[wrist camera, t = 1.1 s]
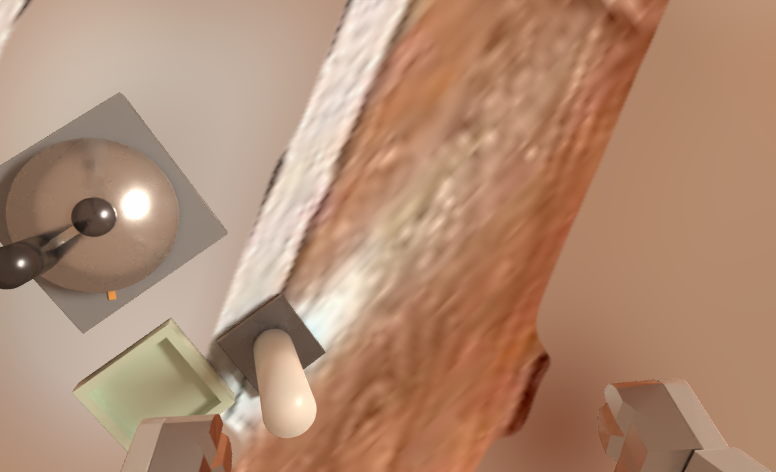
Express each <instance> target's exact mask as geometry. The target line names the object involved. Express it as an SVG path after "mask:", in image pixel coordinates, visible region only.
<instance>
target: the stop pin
mask: <svg viewBox="0 0 776 472" xmlns="http://www.w3.org/2000/svg"><path fill="white" fill-rule="evenodd" d="M253 353H254V360H255V367H256V374H257V381H258V388H259V395H260V402H261V409H262V417H263V422H264V424H265V426H266V428H267V429H268V431H269V432H271V433H272V434H273V435H275V436H278V437H281V438H292V437H296V436H298V435H301V434H302V433H304V432H305V431H306V430H307V429H308V428H309V427H310V426H311V425H312V423H313V421H314V419H315V416H316V403H315V400H314V397H313V395H312V392H311V390H310V387H309V384H308V382H307V379H306V376H305V374H304V371H303V368H302V366H301V363H300V361H299V358H298V355H297V353H296V350H295V347H294V345H293V342H292V340H291V338H290V336H289V335H288V334H287V333H286V332H284V331H283V330H280V329H269V330H266V331H264V332H262V333H261V334H260V335H259V336H258V337H257V338H256V340H255V342H254V345H253Z"/></svg>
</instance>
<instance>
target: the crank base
mask: <svg viewBox="0 0 776 472" xmlns="http://www.w3.org/2000/svg"><path fill="white" fill-rule="evenodd" d="M81 138H98V139H106V140H111V141H114V142H118V143H122V144H125V145H127V146H130V147H133V148H134V149H136V150H138V151H140V152H142V153H143V154H145V155H146V156H148V157H149V158H151V159H152V160H153V161H154V162H155V163H156V164H157V165H158V166H159V167H160V168H161V169H162V170H163V171H164V172H165V174H166V175H167V177H168V178H169V180H170V181H171V183H172V185H173V187H174V189H175V192H176V195H177V198H178V202H179V207H180V225H179V231H178V235H177V238H176V241H175V243H174V246H173V247H172V249H171V251H170V253H169V254H168V256H167V257H166V258H165V260H164V261H163V262H162V264H161V265H160V266H159V267H158V268H157V269H156V270H155V271H154V272H152V273H151V274H150V275H149V276H147V277H146V278H144V279H143V280H141V281H139V282H138V283H135V284H133V285H131V286H129V287H126V288H123V289H119V290H115V291H110V292H99V293H92V292H81V291H75V290H71V289H67V288H64V287H61V286H59V285H57V284H54V283H52V282H50V281H48V280H47V279H45V278H43V277H42V276H40V275H39V276H37V277H35V278H34V280H35V281H36V282H37V283H38V284H39V286H40V287H41V288H42V289H43V290H44V291H45V292H46V293H47V294H48V295H49V296H50V298H51V299H52V300H53V301H54V302H55V303H56V304H57V305H58V307H59V308H60V309H61V310H62V311H63V312H64V313H65V314H66V316H67V317H68V318H69V319H70V320H71V321H72V322H73V323H74V324H75V326H76V327H77V328H78V329H79V330H80V331H81V332H82V333H85V332H86V331H88V330H89V329H91V328H92V327H94V326H95V325H96V324H98V323H99V322H101V321H102V320H104V319H105V318H107V317H108V316H110V315H111V314H112V313H114V312H115V311H117V310H118V309H120V308H121V307H123V306H124V305H125V304H127V303H128V302H130V301H131V300H133V299H134V298H135V297H137V296H139V295H140V294H141V293H143V292H144V291H146V290H147V289H149V288H150V287H151V286H153V285H154V284H156V283H157V282H159V281H160V280H162V279H163V278H165V277H166V276H167V275H168V274H170V273H171V272H173V271H175V270H176V269H177V268H179V267H180V266H182V265H183V264H185V263H186V262H187V261H189V260H191V259H192V258H194V257H195V256H196V255H198V254H199V253H201V252H202V251H204V250H205V249H207V248H208V247H209V246H211V245H212V244H214V243H215V242H217V241H218V240H220V239H221V238H222V237H224V236H225V235H227V230H226V229H225V228H224V226H223V225H222V224H221V222H220V221H219V220H218V219H217V217H216V216H215V215H214V213H213V212H212V211H211V209H210V208H209V207H208V206H207V204H206V203H205V201H204V200H203V199H202V197H201V196H200V195H199V193H198V192H197V191H196V190H195V188H194V187H193V186H192V184H191V183H190V182H189V180H188V179H187V178H186V176H185V175H184V174H183V172H182V171H181V170H180V168H179V167H178V166H177V165H176V163H175V162H174V161H173V159H172V158H171V157H170V156H169V154H168V153H167V151H166V150H165V149H164V147H163V146H162V145H161V144H160V142H159V141H158V140H157V138H156V137H155V136H154V134H153V133H152V132H151V130H150V129H149V128H148V126H147V125H146V124H145V123H144V121H143V120H142V119H141V117H140V116H139V115H138V113H137V112H136V111H135V109H134V108H133V107H132V106H131V104H130V103H129V101H127V99H126V98H125V96H124V95H123V94H121V93H120V92H119V93H117V94H116V95H114V96H113V97H111V98H109V99H108V100H106V101H104V102H103V103H101V104H99V105H98V106H96V107H95V108H93V109H91V110H90V111H88V112H86V113H85V114H83V115H82V116H80V117H78V118H77V119H75V120H73V121H72V122H70V123H69V124H67V125H66V126H64V127H62V128H60V129H59V130H57V131H56V132H54V133H52V134H51V135H49V136H47V137H46V138H44V139H43V140H41V141H39V142H38V143H36V144H34V145H33V146H31V147H29V148H28V149H26V150H25V151H23V152H22V153H20V154H18V155H17V156H15V157H13V158H12V159H10V160H9V161H7V162H5V163H4V164H2V165H0V242H1V243H2V245H3V246H6V245H9V244H12V240H11V238H10V235H9V232H8V228H7V222H6V203H7V198H8V193H9V191H10V188H11V185H12V183H13V181H14V179H15V178H16V176H17V174H18V173H19V171H20V170H21V169H22V168H23V166H24V165H25V164H26V163H27V162H28V161H29V160H30V159H31V158H33V157H34V156H35V155H37V154H38V153H40V152H41V151H43V150H45V149H46V148H48V147H50V146H52V145H55V144H58V143H60V142H64V141H68V140H72V139H81Z"/></svg>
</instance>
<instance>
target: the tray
mask: <svg viewBox="0 0 776 472" xmlns="http://www.w3.org/2000/svg"><path fill="white" fill-rule="evenodd" d="M72 394H73V395H74V396H75V397H76V398H77V399H78V400H79V401H80V402H81V403H82V404H83V405H84V406H85V408H86V409H87V410H88V411H89V412H90V413H91V414H92V415H93V416H94V417H95V418H96V419H97V420H98V421H99V422H100V423H101V425H102V426H103V427H104V428H105V429H106V430H107V431H108V432H109V433H110V434H111V435H112V436H113V437H114V438H115V439H116V440H117V442H118V443H120V445H121V446H122V447H123V448H124V449H125V450H126V451H127V452H128V451H129V448H130V445H131V443H132V440H133V437H134V435H135V432H136V429H137V427H138V425H139V424H140V423H141V421H142V420H143V419H144V418H156V417H173V416H191V415H209V414H221V413H222V412H223V411H225V410H226V409H227V408H229V407H230V406H231V405H232V404H234V403H235V398H234V392H233V391H232V390H231V389H230V387H229V386H228V385H227V384H226V383H225V381H224V380H223V379H222V378H221V377H220V375H219V374H218V373H217V372H216V371H215V369H214V368H213V367H212V366H211V365H210V364H209V362H208V361H207V360H206V359H205V358H204V356H203V355H202V354H201V353H200V352H199V350H198V349H197V348H196V347H195V346H194V344H193V343H192V342H191V341H190V340H189V338H188V337H187V336H186V335H185V334H184V333H183V331H182V330H181V329H180V328H179V326H178V325H177V324H176V323H175V322H174V321H173V319H172V318H170V319H168V320H167V321H166V322H164V323H163V324H161V325H160V326H159V327H157V328H156V329H154V330H153V331H151V332H150V333H149V334H147V335H146V336H144V337H143V338H142V339H140V340H139V341H137V342H136V343H134V344H133V345H132V346H130V347H129V348H127V349H126V350H125V351H123V352H122V353H120V354H119V355H117V356H116V357H115V358H114V359H112V360H110V361H109V362H108V363H106V364H105V365H103V366H102V367H101V368H99V369H98V370H96V371H95V372H93V373H92V374H91V375H89V376H88V377H86V378H85V379H83V380H82V381H81V382H79V383H78V385H77V386H76V388H75V389H74V391H73V392H72Z"/></svg>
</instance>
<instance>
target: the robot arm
mask: <svg viewBox="0 0 776 472" xmlns="http://www.w3.org/2000/svg"><path fill="white" fill-rule="evenodd" d="M604 396H605V399H606V401H607V403H606V404H605V405H603V406H602V407H601V408H600V409H599V413H598V418H597V421H598V432H599V436H600V440H601V443H602V445H603V448H604V450H605V453H607V454H608V455H609V456H610V457H611V458H613V459H614V460H615V461H617V464H616V468H615V471H614V472H772V471H770V470H769V469H768V468H766V467H765V466H763V465H762V464H760V463H759V462H757V461H756V460H754V459H753V458H751V457H750V456H749V455H747V454H746V453H744V452H743V451H741V450H739V449H738V448H737V447H728V445H727V443H726V442H725V440H724V439H723V437H722V436H721V434H720V433H719V431H718V429H717V428H716V426H715V425H714V423H713V422H712V420H711V418H710V417H709V416H708V414H707V412H706V411H705V410H704V408H703V406H702V405H701V403H700V402H699V400H698V398H697V397H696V395H695V394H694V392H693V390H692V389H691V387H690V386H689V384H688V383H687V382H686V381H685V380H684V379H682V378H676V379H665V380H644V381H634V382H622V383H612V384H609V385H608V386H607V387H606V389H605V392H604ZM222 427H223V422H222V420H221V417H220V415H219V414H209V415H191V416H173V417H156V418H144V419H143V420H142V421H141V423H140V424H139V425H138V427H137V429H136V432H135V435H134V437H133V440H132V443H131V445H130V448H129V451H128V453H127V456H126V459H125V461H124V465H123V467H122V470H121V472H231V468H232V450H231V443H230V441H229V438H228V436H227V435H225V434H223V433H222V432H221V431H222Z"/></svg>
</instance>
